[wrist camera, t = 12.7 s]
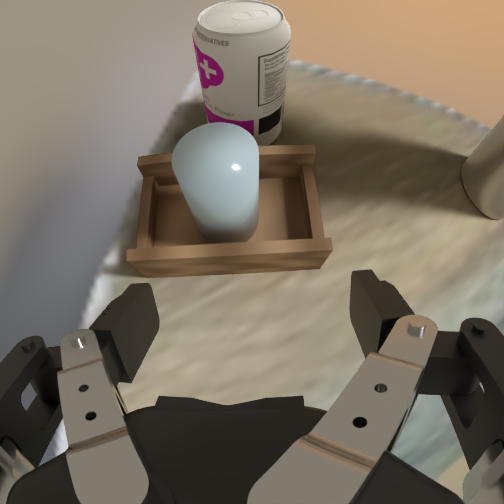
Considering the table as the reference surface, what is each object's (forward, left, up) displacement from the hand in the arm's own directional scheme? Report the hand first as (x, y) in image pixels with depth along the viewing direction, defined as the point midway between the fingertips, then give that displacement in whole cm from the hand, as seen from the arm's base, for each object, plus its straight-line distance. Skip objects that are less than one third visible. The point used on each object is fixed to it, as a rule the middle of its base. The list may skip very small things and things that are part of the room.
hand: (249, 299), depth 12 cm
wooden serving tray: (+2, -10, -15) cm, 18 cm away
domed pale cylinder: (+2, -10, -14) cm, 17 cm away
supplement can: (0, -22, -15) cm, 27 cm away
